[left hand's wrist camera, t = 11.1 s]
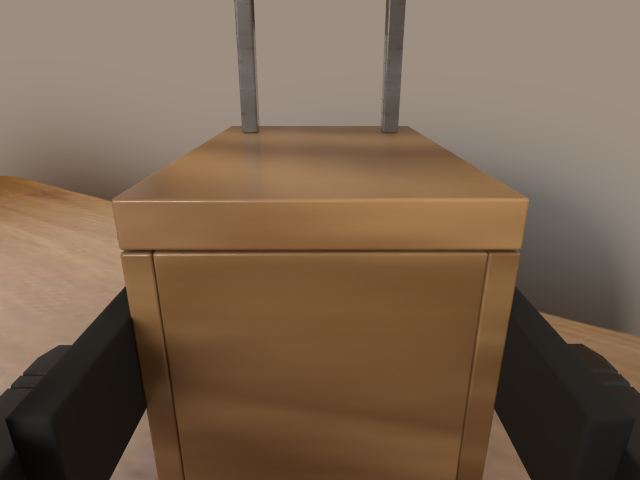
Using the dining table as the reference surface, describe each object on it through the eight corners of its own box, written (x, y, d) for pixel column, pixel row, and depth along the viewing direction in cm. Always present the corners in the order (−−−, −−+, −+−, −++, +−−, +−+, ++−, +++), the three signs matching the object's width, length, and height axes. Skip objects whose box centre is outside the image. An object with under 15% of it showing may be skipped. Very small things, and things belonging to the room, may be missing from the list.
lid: (232, 150, 23) (219, -50, 20) (407, 149, 23) (421, -51, 20) (118, 251, 10) (26, -286, 7) (522, 250, 10) (614, -285, 7)
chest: (241, 318, 26) (230, 153, 22) (398, 318, 26) (409, 153, 22) (168, 548, 13) (119, 253, 10) (471, 548, 13) (522, 253, 10)
